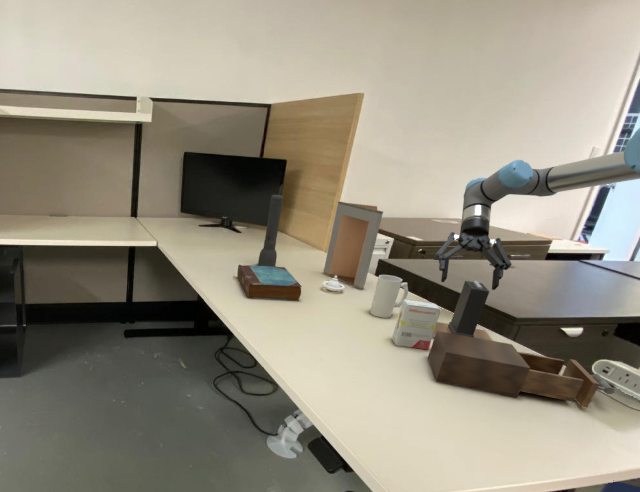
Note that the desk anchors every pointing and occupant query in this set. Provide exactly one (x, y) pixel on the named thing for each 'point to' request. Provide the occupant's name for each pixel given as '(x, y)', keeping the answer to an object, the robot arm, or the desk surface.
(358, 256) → the cabinet
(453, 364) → the cabinet
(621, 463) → the desk surface
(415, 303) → the ink box
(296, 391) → the desk surface
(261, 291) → the book
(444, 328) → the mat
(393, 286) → the mug
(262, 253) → the flashlight
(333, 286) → the ring around a ball
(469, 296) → the dark grey upright block
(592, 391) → the drawer
